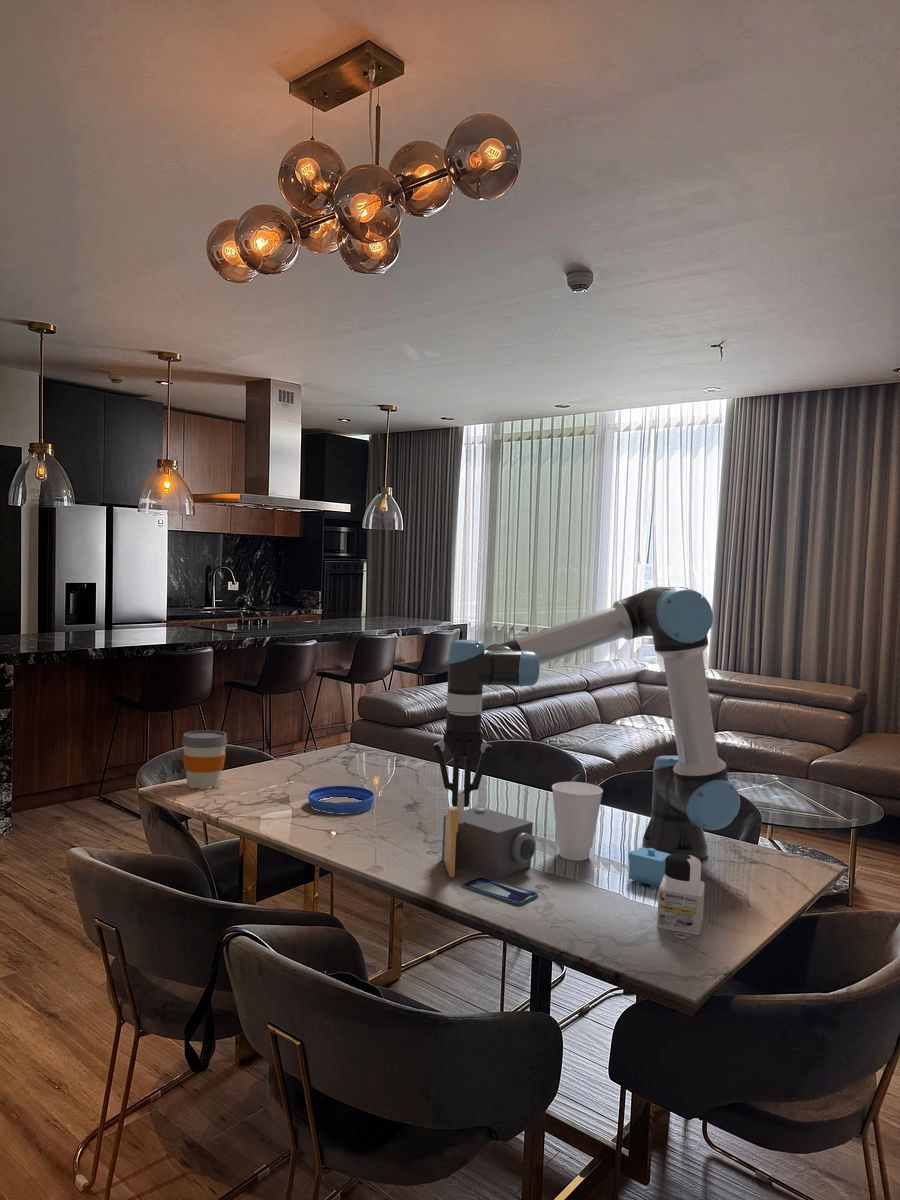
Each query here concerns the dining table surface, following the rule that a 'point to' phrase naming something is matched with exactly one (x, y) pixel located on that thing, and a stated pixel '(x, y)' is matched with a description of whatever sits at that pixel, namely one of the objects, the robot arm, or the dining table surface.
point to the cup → (576, 817)
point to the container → (681, 895)
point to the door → (450, 840)
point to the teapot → (647, 866)
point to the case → (493, 843)
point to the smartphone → (500, 890)
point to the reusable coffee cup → (204, 757)
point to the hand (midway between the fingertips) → (459, 821)
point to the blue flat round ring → (341, 791)
